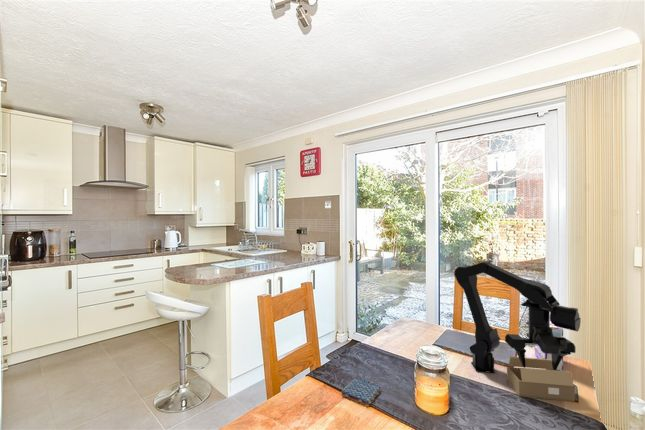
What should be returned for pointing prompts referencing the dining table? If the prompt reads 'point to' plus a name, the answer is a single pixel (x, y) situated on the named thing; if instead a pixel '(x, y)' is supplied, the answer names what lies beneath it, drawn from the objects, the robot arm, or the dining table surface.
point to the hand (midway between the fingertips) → (538, 368)
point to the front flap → (546, 376)
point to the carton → (538, 388)
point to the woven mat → (361, 391)
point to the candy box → (540, 355)
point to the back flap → (531, 363)
